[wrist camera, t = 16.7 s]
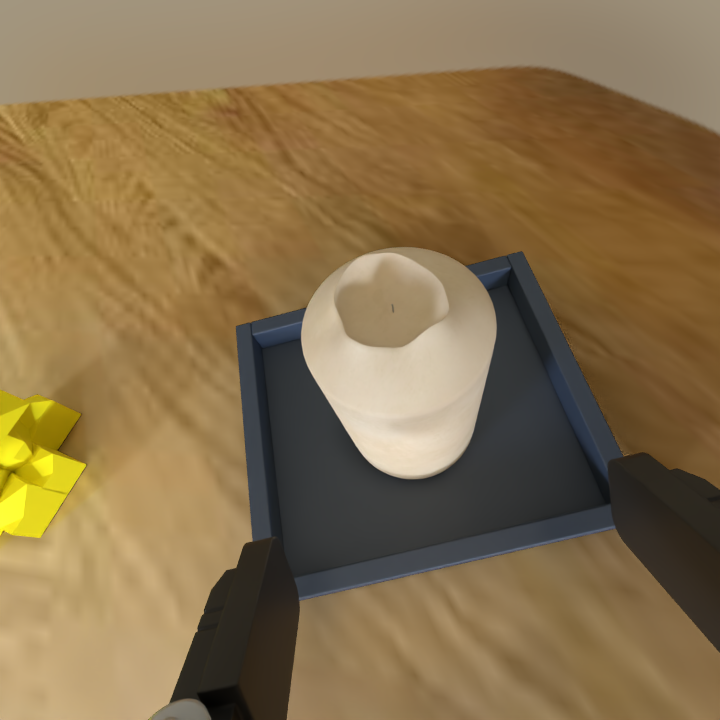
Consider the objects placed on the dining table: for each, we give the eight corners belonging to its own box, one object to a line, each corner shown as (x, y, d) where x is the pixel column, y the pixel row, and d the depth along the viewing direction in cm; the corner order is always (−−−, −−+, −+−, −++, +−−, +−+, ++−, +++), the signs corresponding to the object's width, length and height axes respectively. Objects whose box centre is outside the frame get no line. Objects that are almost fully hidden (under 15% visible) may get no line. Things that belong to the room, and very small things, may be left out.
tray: (515, 279, 23) (522, 250, 21) (629, 525, 17) (654, 518, 15) (252, 347, 24) (235, 325, 22) (277, 605, 18) (257, 609, 16)
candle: (497, 402, 20) (545, 259, 11) (430, 507, 18) (423, 441, 9) (395, 346, 22) (366, 186, 13) (328, 436, 20) (243, 325, 11)
